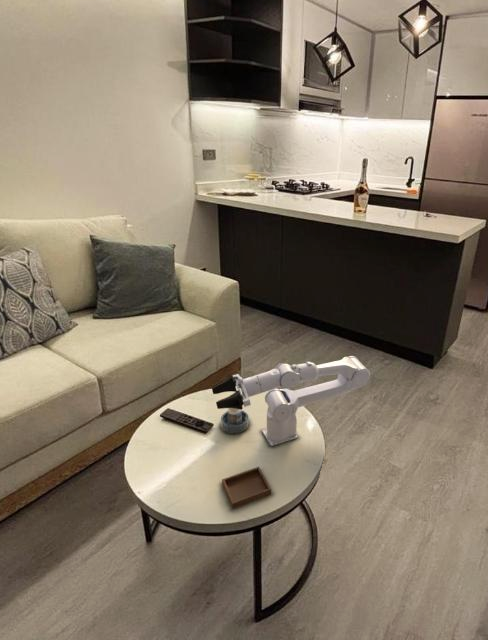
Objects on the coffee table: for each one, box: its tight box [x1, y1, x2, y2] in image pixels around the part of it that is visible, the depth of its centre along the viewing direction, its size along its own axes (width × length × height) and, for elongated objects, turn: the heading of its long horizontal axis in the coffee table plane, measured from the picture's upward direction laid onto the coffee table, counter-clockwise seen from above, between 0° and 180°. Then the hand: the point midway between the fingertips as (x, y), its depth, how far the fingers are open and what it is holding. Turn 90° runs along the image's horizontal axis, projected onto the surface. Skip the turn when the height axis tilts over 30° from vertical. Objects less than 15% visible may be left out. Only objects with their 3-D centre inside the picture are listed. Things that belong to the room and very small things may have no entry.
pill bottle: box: [226, 408, 243, 426], centre depth 138 cm, size 5×5×8 cm
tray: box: [221, 466, 272, 510], centre depth 114 cm, size 11×9×2 cm
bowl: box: [220, 410, 250, 434], centre depth 139 cm, size 9×9×3 cm
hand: (214, 398), depth 121 cm, fingers open, 7 cm apart
